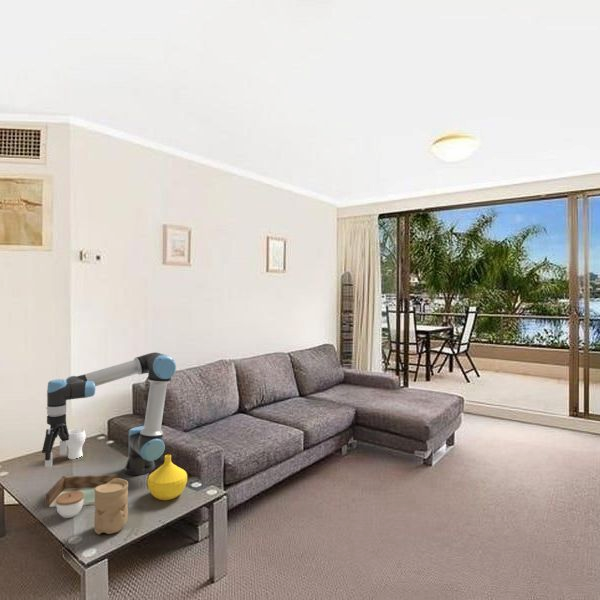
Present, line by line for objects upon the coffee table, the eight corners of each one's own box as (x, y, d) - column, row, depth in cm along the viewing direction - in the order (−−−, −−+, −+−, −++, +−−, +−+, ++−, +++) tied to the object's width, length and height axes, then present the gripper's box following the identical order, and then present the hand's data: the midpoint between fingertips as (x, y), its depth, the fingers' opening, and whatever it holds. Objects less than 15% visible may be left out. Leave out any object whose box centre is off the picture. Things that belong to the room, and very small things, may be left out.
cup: (73, 452, 250) (73, 427, 250) (89, 453, 249) (89, 428, 248) (60, 459, 240) (60, 433, 239) (77, 461, 238) (77, 435, 238)
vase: (146, 490, 206) (146, 451, 205) (184, 483, 213) (184, 446, 213) (148, 508, 189) (148, 466, 189) (189, 500, 196) (190, 460, 196)
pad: (112, 487, 206) (112, 487, 206) (102, 502, 192) (102, 501, 192) (81, 489, 204) (81, 488, 204) (70, 503, 190) (70, 503, 190)
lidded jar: (64, 523, 176) (64, 501, 175) (50, 516, 181) (50, 494, 181) (88, 512, 185) (89, 491, 184) (75, 505, 190) (75, 485, 190)
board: (118, 486, 210) (118, 484, 209) (106, 504, 192) (106, 503, 192) (62, 488, 206) (62, 487, 206) (45, 507, 188) (45, 506, 188)
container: (87, 532, 169) (87, 488, 169) (111, 517, 181) (111, 476, 181) (111, 540, 165) (111, 494, 164) (134, 523, 177) (134, 481, 176)
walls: (118, 486, 210) (118, 474, 209) (106, 504, 192) (106, 491, 192) (62, 488, 206) (62, 476, 206) (45, 507, 188) (45, 494, 188)
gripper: (61, 406, 202) (60, 450, 203) (33, 422, 177) (32, 472, 178) (77, 406, 203) (76, 450, 203) (51, 422, 178) (51, 472, 178)
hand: (56, 460), depth 190 cm, fingers open, 13 cm apart
